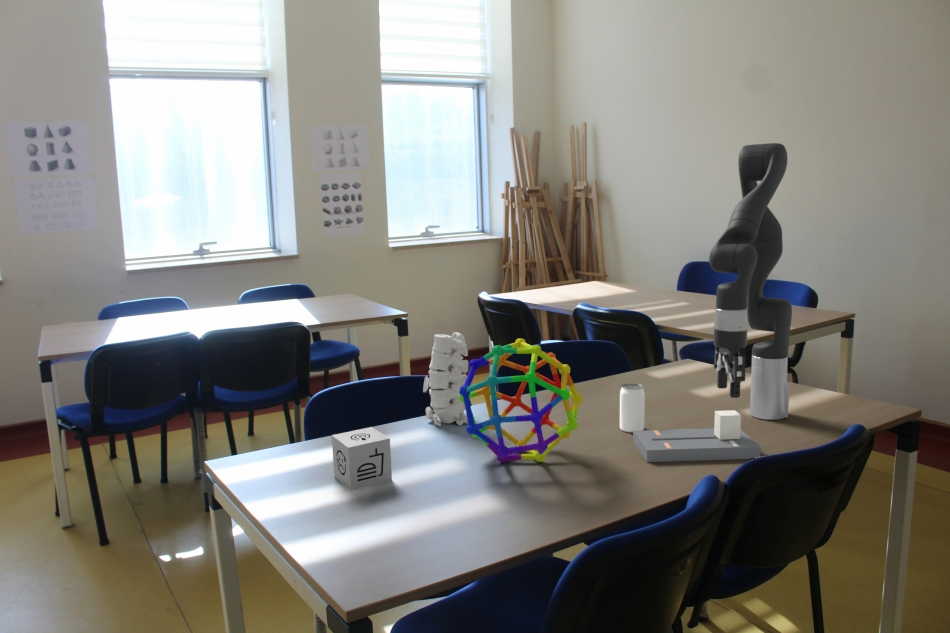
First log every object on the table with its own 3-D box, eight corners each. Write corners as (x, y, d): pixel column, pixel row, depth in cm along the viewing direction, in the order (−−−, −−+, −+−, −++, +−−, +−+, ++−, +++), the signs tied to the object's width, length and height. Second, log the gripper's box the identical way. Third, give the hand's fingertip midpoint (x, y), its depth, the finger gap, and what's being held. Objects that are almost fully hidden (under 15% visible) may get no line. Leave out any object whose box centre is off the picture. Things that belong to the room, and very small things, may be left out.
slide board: (738, 438, 186) (738, 427, 186) (760, 458, 173) (760, 446, 172) (633, 442, 186) (633, 430, 186) (646, 462, 172) (647, 449, 172)
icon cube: (391, 480, 166) (389, 438, 164) (350, 490, 161) (348, 447, 159) (374, 467, 174) (371, 426, 173) (334, 476, 169) (331, 435, 167)
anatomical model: (478, 422, 205) (475, 335, 201) (438, 430, 200) (435, 340, 195) (461, 412, 215) (459, 329, 210) (423, 419, 209) (420, 334, 205)
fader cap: (734, 433, 181) (734, 410, 180) (740, 438, 177) (741, 415, 176) (714, 434, 181) (714, 410, 180) (719, 439, 177) (720, 415, 176)
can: (644, 433, 192) (645, 389, 190) (619, 432, 194) (619, 389, 191) (643, 425, 198) (644, 383, 196) (619, 424, 200) (620, 382, 198)
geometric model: (609, 353, 181) (498, 315, 189) (587, 378, 153) (458, 331, 161) (573, 462, 187) (467, 420, 195) (546, 504, 159) (424, 453, 168)
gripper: (758, 332, 167) (755, 400, 170) (735, 321, 181) (732, 384, 184) (725, 332, 167) (723, 401, 170) (705, 322, 181) (703, 385, 184)
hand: (728, 392), depth 177 cm, fingers open, 8 cm apart
